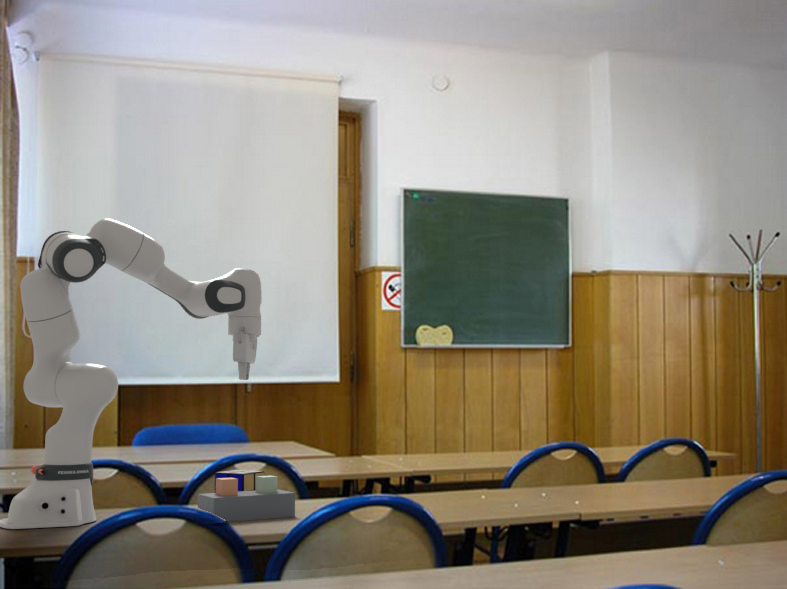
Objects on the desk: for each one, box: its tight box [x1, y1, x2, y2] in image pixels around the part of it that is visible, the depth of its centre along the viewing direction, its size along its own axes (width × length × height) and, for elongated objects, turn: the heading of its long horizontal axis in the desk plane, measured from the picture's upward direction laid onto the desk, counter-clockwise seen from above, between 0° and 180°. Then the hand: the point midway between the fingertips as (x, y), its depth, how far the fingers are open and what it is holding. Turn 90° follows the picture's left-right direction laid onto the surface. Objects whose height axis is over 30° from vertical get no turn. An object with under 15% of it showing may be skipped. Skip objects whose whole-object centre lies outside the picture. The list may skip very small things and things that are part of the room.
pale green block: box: [256, 475, 279, 494], centre depth 241 cm, size 4×4×6 cm
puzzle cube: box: [214, 469, 266, 493], centre depth 257 cm, size 10×10×10 cm
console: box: [197, 489, 296, 523], centre depth 238 cm, size 22×11×6 cm, turn 122°
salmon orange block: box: [216, 478, 238, 496], centre depth 236 cm, size 4×4×6 cm
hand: (243, 379), depth 251 cm, fingers open, 4 cm apart
